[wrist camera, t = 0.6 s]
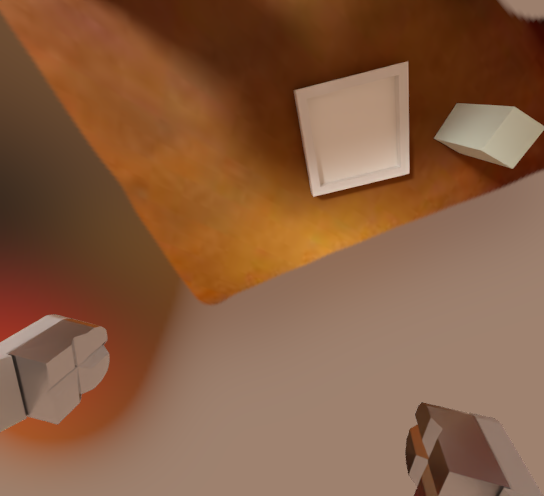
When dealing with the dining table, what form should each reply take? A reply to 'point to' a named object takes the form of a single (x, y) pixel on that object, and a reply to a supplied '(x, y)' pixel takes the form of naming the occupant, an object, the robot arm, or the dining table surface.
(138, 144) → the dining table surface
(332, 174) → the serving tray
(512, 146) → the sage block
